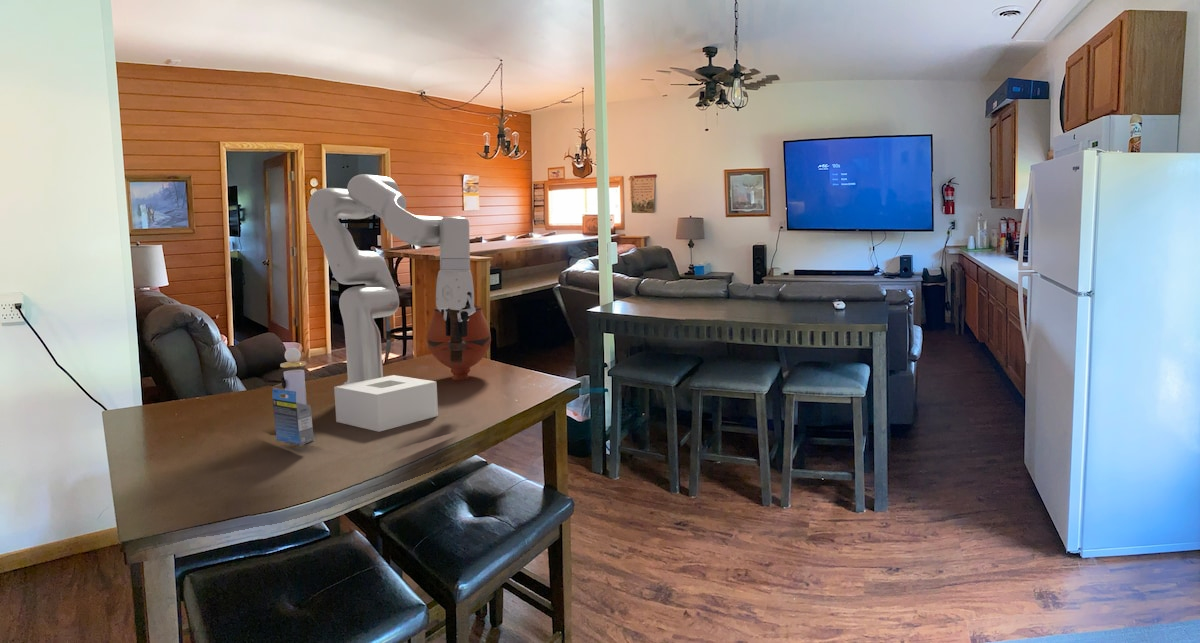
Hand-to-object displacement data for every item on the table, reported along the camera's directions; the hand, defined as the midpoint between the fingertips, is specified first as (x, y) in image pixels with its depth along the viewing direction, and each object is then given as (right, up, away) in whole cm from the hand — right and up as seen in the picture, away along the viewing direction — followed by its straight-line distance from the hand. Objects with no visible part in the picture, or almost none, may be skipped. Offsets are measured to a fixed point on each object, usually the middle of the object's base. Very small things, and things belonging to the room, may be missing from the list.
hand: (456, 335), depth 180 cm
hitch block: (-17, -21, -4) cm, 27 cm away
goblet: (-6, -17, +35) cm, 39 cm away
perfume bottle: (-36, -23, -12) cm, 44 cm away
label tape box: (-32, -24, -22) cm, 46 cm away
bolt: (0, -7, +1) cm, 7 cm away
